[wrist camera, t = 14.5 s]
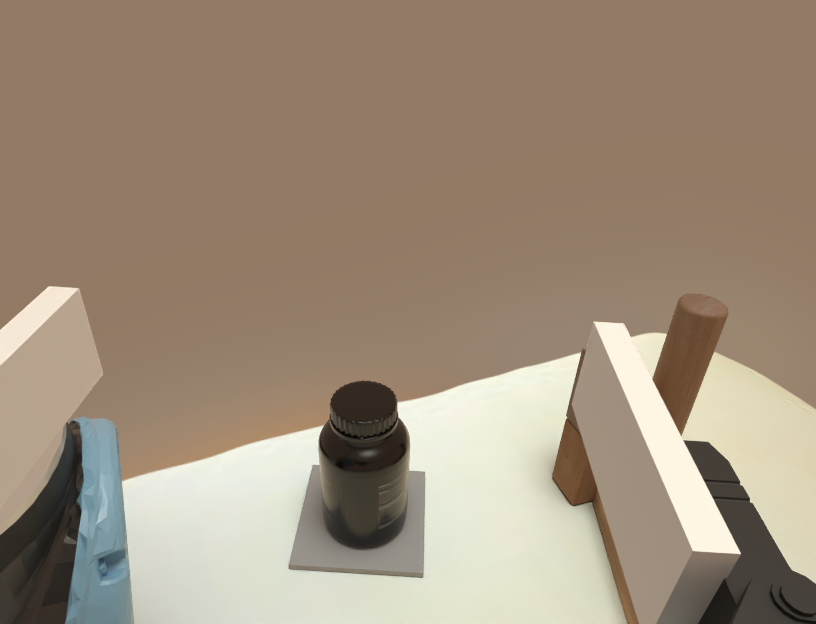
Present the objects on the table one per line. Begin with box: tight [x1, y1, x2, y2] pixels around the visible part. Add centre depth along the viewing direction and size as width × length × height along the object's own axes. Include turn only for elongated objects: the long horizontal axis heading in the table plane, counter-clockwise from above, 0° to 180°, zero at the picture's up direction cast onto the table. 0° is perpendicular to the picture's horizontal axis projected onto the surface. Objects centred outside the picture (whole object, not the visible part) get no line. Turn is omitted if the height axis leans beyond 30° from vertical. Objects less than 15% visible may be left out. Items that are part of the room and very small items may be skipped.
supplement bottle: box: [319, 381, 410, 547], centre depth 44 cm, size 7×7×12 cm
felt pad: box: [289, 465, 425, 577], centre depth 48 cm, size 10×10×1 cm
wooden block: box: [552, 294, 728, 505], centre depth 48 cm, size 4×11×18 cm, turn 108°
